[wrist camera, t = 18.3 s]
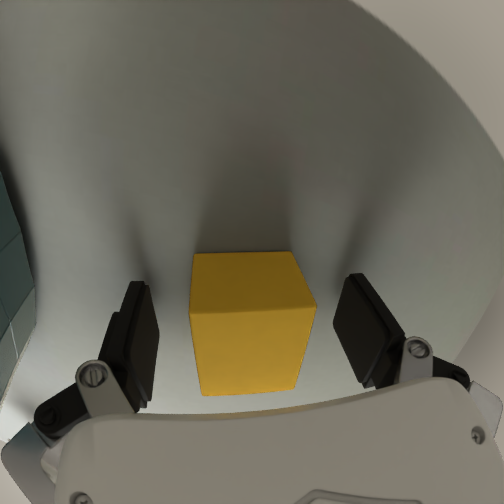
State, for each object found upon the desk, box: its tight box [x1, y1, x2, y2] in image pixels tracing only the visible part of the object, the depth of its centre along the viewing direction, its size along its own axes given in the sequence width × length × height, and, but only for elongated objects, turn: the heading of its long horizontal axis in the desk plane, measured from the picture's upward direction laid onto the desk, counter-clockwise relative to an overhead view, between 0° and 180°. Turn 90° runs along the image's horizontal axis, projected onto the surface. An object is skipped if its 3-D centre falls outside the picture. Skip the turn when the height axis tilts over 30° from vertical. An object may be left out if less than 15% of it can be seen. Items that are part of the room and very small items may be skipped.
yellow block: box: [189, 251, 317, 396], centre depth 11 cm, size 4×5×4 cm
